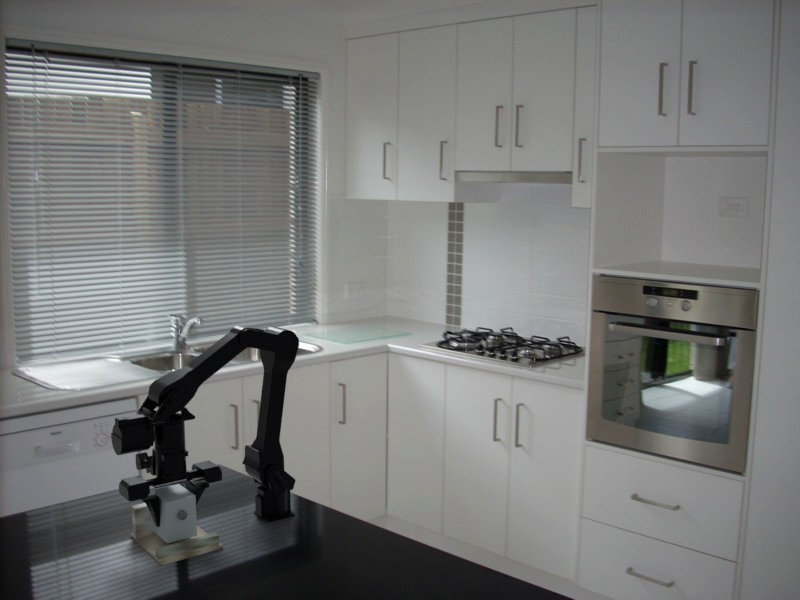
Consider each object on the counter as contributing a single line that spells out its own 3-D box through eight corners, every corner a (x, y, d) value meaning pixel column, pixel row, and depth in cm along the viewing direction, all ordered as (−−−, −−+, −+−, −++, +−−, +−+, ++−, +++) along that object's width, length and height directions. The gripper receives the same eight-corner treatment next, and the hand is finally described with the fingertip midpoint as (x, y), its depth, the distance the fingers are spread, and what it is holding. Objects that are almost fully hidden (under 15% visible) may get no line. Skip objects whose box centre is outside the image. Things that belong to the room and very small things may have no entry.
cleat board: (188, 521, 175) (187, 490, 174) (222, 548, 163) (221, 515, 162) (130, 536, 168) (129, 504, 167) (162, 565, 155) (160, 530, 154)
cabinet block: (180, 522, 171) (178, 483, 170) (199, 537, 164) (197, 497, 163) (151, 529, 167) (149, 490, 166) (169, 545, 160) (167, 504, 159)
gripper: (198, 426, 175) (201, 499, 178) (107, 443, 164) (111, 521, 166) (222, 439, 167) (224, 515, 169) (127, 458, 155) (131, 540, 158)
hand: (173, 522), depth 166 cm, fingers closed on cabinet block, 6 cm apart
